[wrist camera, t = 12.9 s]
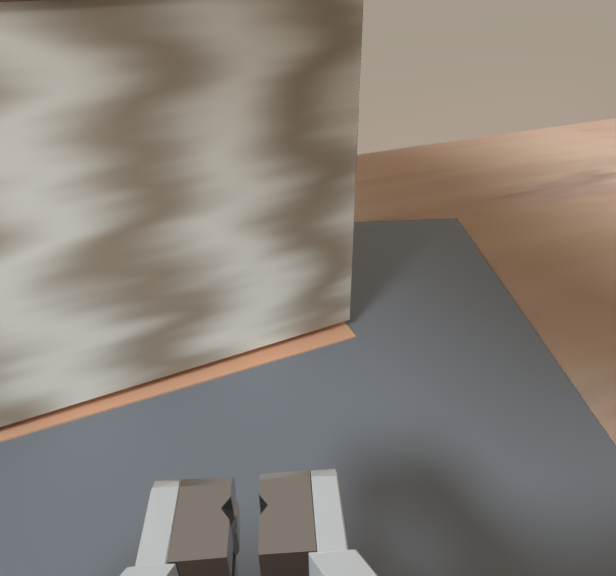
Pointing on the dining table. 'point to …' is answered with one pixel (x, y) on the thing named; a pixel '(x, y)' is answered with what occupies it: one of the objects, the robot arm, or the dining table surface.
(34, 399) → the fence panel
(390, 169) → the dining table surface
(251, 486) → the board
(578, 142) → the dining table surface
